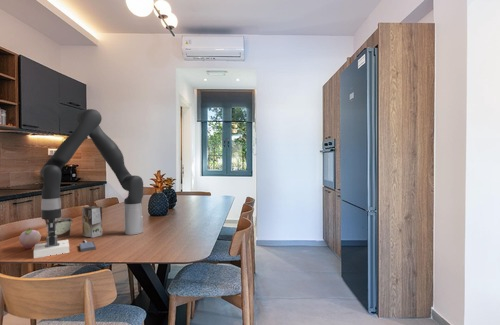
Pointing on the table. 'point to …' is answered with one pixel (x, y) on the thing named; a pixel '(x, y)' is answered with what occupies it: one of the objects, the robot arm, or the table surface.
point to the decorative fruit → (29, 238)
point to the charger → (54, 244)
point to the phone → (87, 246)
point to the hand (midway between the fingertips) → (52, 242)
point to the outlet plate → (51, 249)
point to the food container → (63, 227)
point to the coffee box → (92, 221)
